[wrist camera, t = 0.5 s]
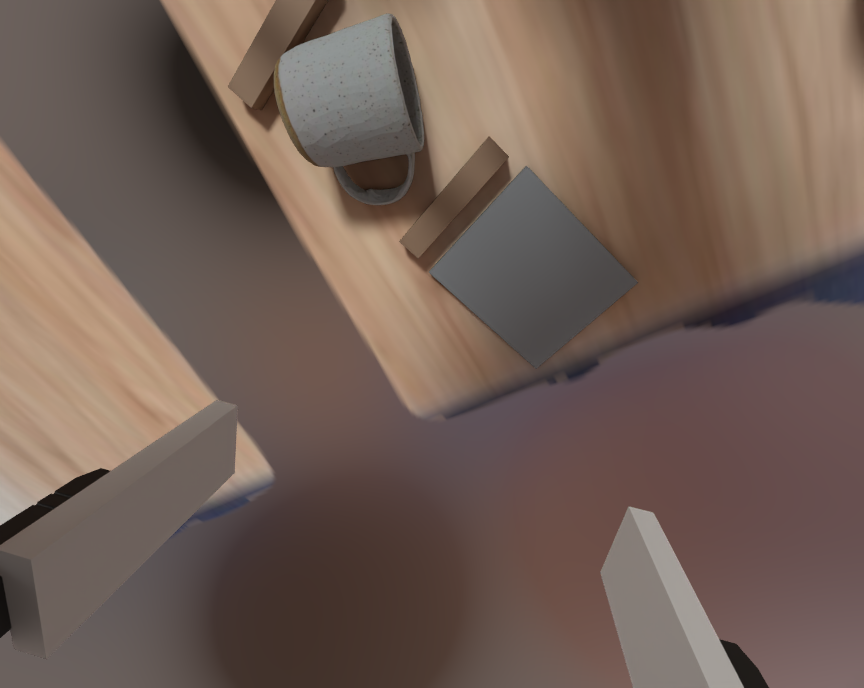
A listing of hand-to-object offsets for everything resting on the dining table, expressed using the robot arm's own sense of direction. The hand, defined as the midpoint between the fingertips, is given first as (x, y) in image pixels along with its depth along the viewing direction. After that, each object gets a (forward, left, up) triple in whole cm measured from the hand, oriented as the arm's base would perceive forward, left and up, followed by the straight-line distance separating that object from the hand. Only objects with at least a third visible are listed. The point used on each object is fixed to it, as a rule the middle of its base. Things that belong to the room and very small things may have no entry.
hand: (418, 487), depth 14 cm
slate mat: (-5, +4, -24) cm, 25 cm away
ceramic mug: (-5, -12, -25) cm, 28 cm away
